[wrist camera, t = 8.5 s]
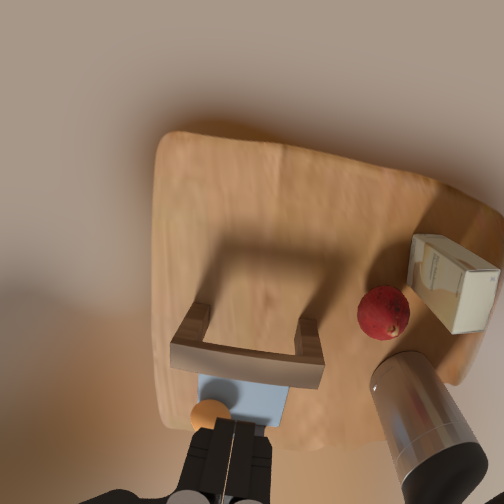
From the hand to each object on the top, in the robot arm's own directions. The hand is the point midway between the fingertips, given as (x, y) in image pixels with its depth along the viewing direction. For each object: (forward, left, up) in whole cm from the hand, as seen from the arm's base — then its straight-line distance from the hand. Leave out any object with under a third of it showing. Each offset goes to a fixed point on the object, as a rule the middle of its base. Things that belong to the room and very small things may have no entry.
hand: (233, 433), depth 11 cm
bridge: (-3, +8, -25) cm, 26 cm away
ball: (-5, +23, -22) cm, 32 cm away
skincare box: (-17, -8, -25) cm, 32 cm away
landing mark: (-7, +18, -25) cm, 32 cm away
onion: (-14, -2, -25) cm, 29 cm away
